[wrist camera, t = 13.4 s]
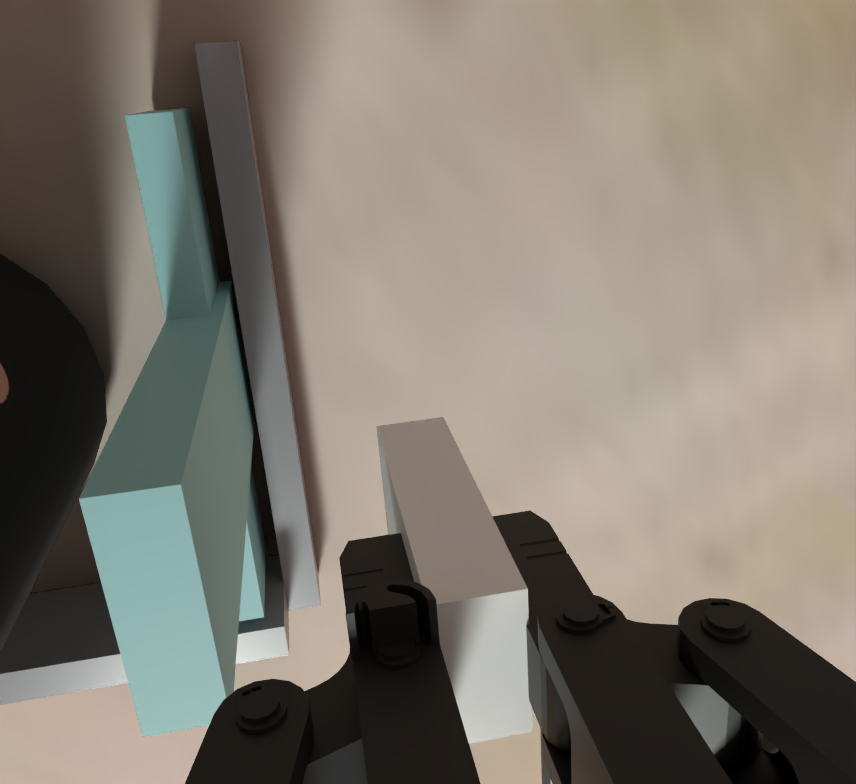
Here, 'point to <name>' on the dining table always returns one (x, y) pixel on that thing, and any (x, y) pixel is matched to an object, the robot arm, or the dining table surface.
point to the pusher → (180, 463)
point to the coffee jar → (40, 428)
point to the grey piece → (266, 358)
